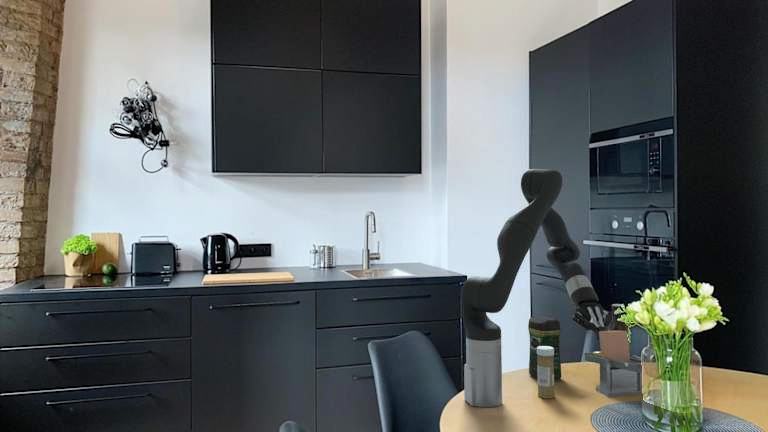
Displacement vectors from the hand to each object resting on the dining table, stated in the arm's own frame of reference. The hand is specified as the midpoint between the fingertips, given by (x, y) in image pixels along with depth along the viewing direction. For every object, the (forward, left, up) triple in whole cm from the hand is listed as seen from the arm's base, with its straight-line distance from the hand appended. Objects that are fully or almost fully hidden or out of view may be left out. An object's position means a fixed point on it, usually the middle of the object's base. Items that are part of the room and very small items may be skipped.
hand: (604, 340), depth 165 cm
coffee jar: (-14, +10, -13) cm, 21 cm away
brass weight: (0, +2, -5) cm, 6 cm away
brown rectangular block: (0, -5, -4) cm, 7 cm away
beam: (0, -8, -5) cm, 9 cm away
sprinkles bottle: (-22, -7, -13) cm, 26 cm away
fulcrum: (0, -8, -13) cm, 15 cm away
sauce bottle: (+16, +18, -13) cm, 27 cm away
